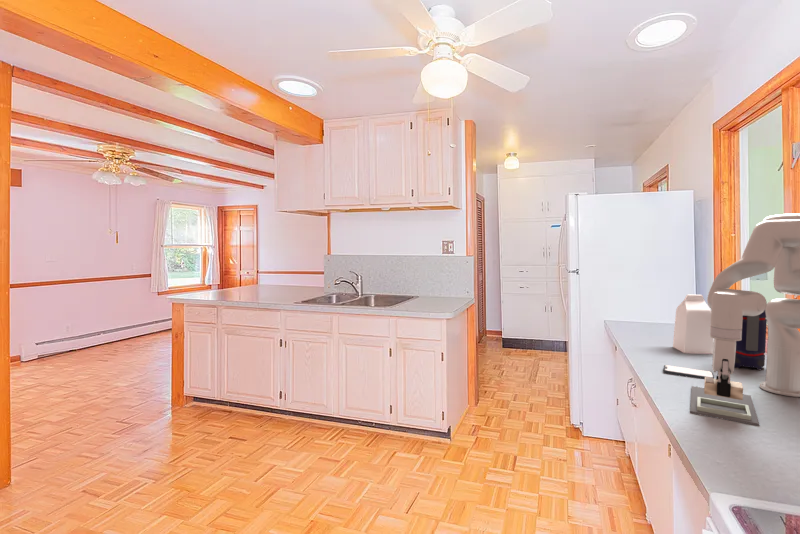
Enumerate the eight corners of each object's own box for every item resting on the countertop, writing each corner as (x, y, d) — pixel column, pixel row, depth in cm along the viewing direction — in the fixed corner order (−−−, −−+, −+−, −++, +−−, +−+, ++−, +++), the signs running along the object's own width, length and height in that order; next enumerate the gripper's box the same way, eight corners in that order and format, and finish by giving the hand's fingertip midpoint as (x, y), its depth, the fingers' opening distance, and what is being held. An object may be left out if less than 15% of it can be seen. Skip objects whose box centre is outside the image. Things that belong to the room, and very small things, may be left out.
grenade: (723, 360, 182) (726, 290, 180) (759, 363, 177) (762, 291, 175) (732, 369, 170) (735, 294, 168) (770, 373, 165) (774, 295, 163)
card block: (740, 394, 129) (741, 382, 128) (742, 400, 124) (743, 387, 123) (704, 388, 134) (704, 376, 134) (704, 393, 129) (704, 381, 129)
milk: (684, 353, 194) (686, 296, 193) (672, 346, 206) (674, 293, 204) (713, 354, 192) (716, 296, 191) (700, 347, 204) (702, 293, 202)
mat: (691, 387, 150) (691, 386, 150) (750, 397, 140) (750, 395, 140) (690, 412, 128) (690, 410, 128) (759, 425, 119) (759, 423, 119)
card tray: (697, 410, 129) (697, 406, 129) (697, 400, 137) (697, 396, 137) (751, 420, 122) (751, 416, 122) (748, 409, 129) (748, 405, 129)
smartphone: (712, 375, 165) (663, 368, 173) (712, 371, 165) (663, 364, 173) (714, 382, 157) (663, 374, 166) (714, 378, 157) (663, 370, 166)
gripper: (709, 327, 137) (707, 382, 138) (710, 337, 123) (707, 398, 124) (739, 330, 132) (736, 387, 134) (744, 340, 118) (740, 404, 119)
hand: (722, 392), depth 129 cm, fingers closed on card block, 6 cm apart
